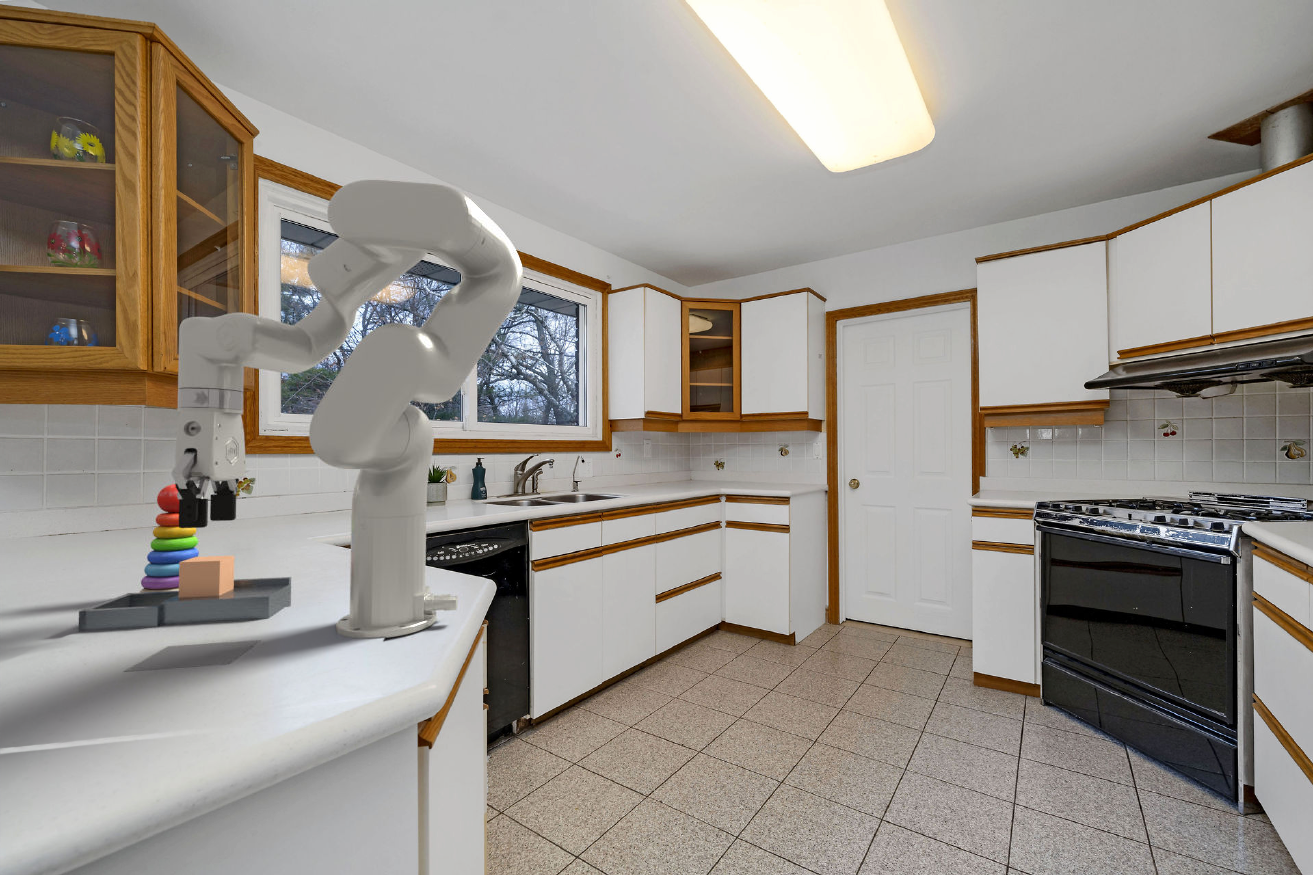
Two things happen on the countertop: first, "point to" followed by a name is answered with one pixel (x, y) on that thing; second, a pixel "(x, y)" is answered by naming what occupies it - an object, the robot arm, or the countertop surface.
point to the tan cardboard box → (206, 576)
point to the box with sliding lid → (189, 606)
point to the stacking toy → (168, 546)
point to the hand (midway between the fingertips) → (208, 522)
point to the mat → (194, 655)
